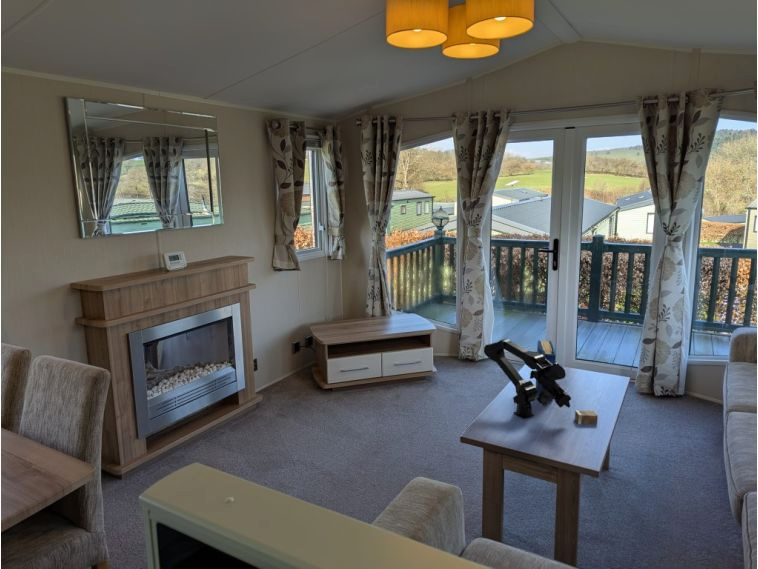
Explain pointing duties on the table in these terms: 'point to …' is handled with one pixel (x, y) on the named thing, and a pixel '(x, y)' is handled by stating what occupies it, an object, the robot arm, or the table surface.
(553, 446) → the table surface
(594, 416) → the brown rectangular block
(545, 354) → the book
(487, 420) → the table surface
